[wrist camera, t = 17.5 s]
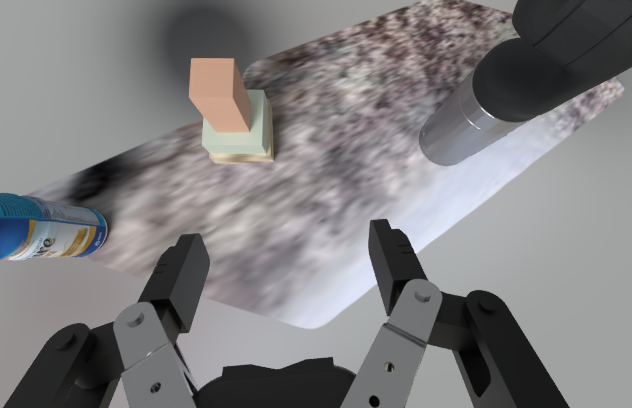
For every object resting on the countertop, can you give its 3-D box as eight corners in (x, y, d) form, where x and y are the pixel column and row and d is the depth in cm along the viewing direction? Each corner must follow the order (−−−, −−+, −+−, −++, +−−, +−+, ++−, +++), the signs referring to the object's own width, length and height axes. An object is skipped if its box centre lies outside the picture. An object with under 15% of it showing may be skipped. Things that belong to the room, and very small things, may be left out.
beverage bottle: (108, 203, 49) (-32, 172, 29) (112, 252, 47) (-32, 255, 28) (58, 212, 48) (-118, 186, 29) (60, 262, 47) (-123, 271, 27)
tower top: (267, 102, 48) (263, 89, 44) (266, 154, 47) (261, 145, 43) (214, 102, 48) (205, 89, 44) (211, 153, 47) (201, 145, 43)
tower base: (272, 109, 52) (268, 98, 48) (274, 162, 51) (270, 154, 47) (217, 112, 52) (209, 101, 48) (217, 165, 50) (209, 158, 46)
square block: (250, 101, 44) (233, 58, 34) (249, 132, 43) (232, 97, 33) (217, 101, 44) (191, 58, 34) (216, 132, 43) (189, 97, 33)
